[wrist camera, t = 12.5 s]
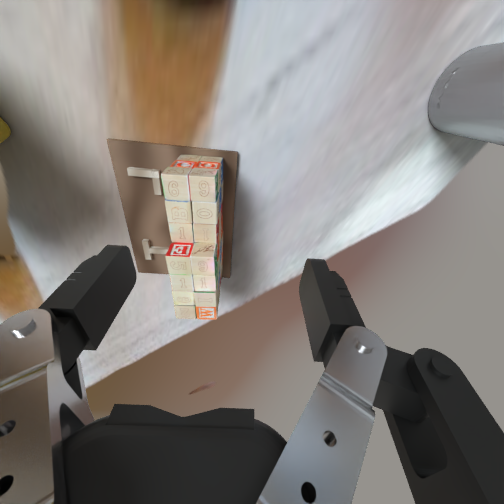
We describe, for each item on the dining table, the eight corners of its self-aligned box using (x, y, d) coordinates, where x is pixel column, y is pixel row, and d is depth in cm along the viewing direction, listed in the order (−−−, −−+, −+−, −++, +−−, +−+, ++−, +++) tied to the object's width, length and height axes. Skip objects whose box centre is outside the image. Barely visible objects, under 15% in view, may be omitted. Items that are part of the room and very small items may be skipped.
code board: (237, 151, 34) (237, 154, 33) (230, 275, 47) (229, 280, 46) (108, 138, 32) (103, 140, 31) (139, 270, 46) (136, 275, 45)
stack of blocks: (179, 153, 33) (150, 181, 23) (223, 156, 33) (214, 186, 23) (191, 268, 45) (175, 320, 35) (223, 270, 46) (216, 321, 36)
